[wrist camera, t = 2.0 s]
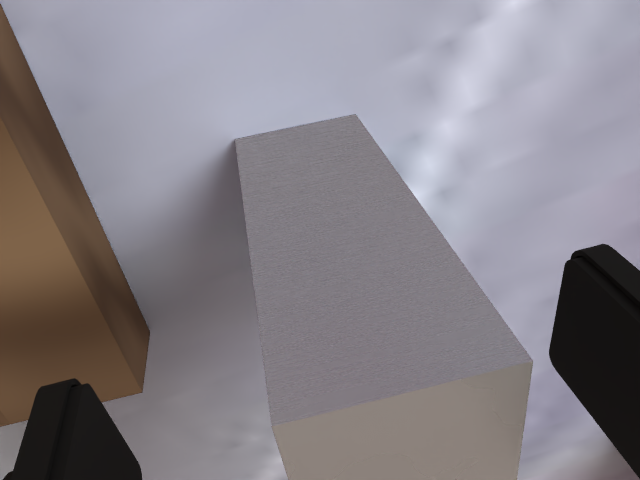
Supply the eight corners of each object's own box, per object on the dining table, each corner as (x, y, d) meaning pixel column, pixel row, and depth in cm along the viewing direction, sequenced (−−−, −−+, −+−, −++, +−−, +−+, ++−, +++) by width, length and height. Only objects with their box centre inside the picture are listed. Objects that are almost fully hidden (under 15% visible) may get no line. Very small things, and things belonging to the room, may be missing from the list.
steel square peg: (366, 217, 19) (513, 501, 10) (260, 240, 19) (312, 556, 10) (355, 114, 17) (533, 360, 8) (234, 139, 16) (272, 426, 7)
